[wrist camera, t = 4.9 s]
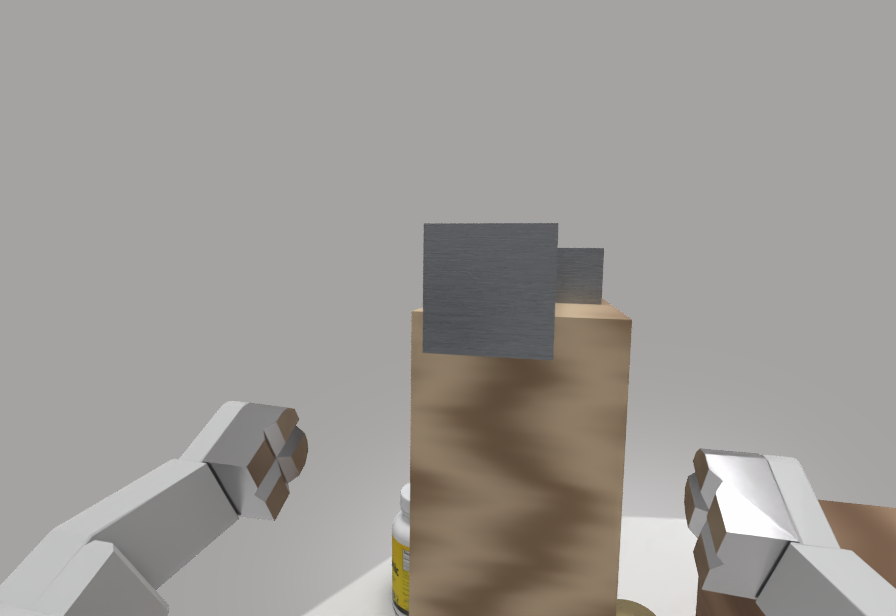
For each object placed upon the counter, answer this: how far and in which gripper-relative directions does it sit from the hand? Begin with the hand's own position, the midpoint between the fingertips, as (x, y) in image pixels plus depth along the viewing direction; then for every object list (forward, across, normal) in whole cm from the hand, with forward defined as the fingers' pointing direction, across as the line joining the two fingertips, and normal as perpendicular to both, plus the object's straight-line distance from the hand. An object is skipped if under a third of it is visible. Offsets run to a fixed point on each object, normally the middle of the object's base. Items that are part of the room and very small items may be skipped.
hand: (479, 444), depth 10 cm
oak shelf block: (+2, 0, +30) cm, 30 cm away
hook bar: (+11, 0, +4) cm, 12 cm away
